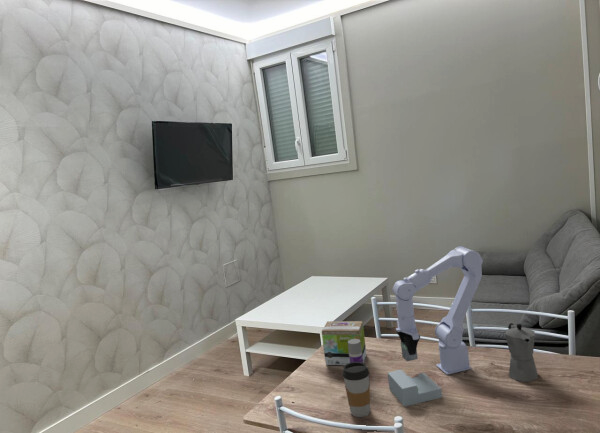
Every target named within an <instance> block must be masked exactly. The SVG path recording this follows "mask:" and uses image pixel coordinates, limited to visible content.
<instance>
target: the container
mask: <svg viewBox="0 0 600 433" xmlns="http://www.w3.org/2000/svg"><path fill="white" fill-rule="evenodd" d="M348 349H349V358H350V363H351V362H362V363H363V356H362V349H361V342H360V340H359V339H351V340H349V341H348Z"/></svg>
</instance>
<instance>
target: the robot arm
mask: <svg viewBox="0 0 600 433" xmlns="http://www.w3.org/2000/svg"><path fill="white" fill-rule="evenodd" d="M483 263H484V260H483V258H482V256H481V255H480V253H479V252H478V251H477V250H472V249H470V248H467V247H466V246H463V245H461V246H456V247H455V248H454V249H452V250H450V251H449V252H448V253H447V254H446V255H445V256H443V257H441V258H440V259H439V260H438V261H436V262H435V263H433V264H431V265H430V266H429V267H427V268H426V269H424V268H419V269H415V270H414V273H412V274H410V275H409V276H407V277H403V280H401V279H400V280H397V281H395V283H394V285H393V286H392V288H391V290H392V293H393V294H394V295H395V304H396V312H397V314H396V315H397V320H396V326H397V327H396V328H395V331H396V334H397V335H398V338H399V339H400V342H401V341H402V340H405V342H406V344H407V348H408V352H409V354H410V355H414V354H416V349H417V347H418V344H419V341H420V339H421V335H420V334H419V333H420V332H418V329H417V325H416V320H415V310H414V302H413V297H414V296H415V294H416V292H418V291H420V290H421V289H423V288H425V287H426V286H428V285H430V283H432V279H433V278H434V277H436V276H438V275H439V274H440V275H441V273H443V272H445V271H447V270H448V269H450V268H452V267H453V268H460V269H461V272H462V274H463V278H462V280H461V283H460V285H459V287H458V290H457V292H456V294H455V297H454V299H453V302H452V304H451V306H450V308H449V310H448V313H447V315H445V316H444V317H442V318H441V321H439V323H438V324H437V325H436V326H435V328H434V335H435V336H436V338H438V350H439V352H438V353H439V361H440V363H437V364H436V365H435V366H436V367H437V368H438V369H440V370H441V371H442V372H444V374H445V375H446V376H447V375H452V374H457V373H460V372H465V371H469V370H471V369H472V368H471V366H470V357H469V349H468V346H467V344H466V343H465V342H464V341H463V333H464V331H465V329H464V326H463V321H464V319H465V316H466V314H467V313H468V310H469V307H470V306H471V303H472V300H473V299H474V297H475V294H476V291H477V290H478V287H479V284H480V282H481V280H482V276H483V273H482V272H483V270H482V268H483V267H482V265H483ZM417 350H418V349H417Z"/></svg>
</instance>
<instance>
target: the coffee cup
mask: <svg viewBox="0 0 600 433" xmlns="http://www.w3.org/2000/svg"><path fill="white" fill-rule="evenodd" d="M369 376H370V370H369V368H368V365H367V364H366V363H365V362H364V363H362V362H351V363H348V364H346V365H343V369H342V377H343V381H344V388H345V392H346V398H347V403H348V406H349V410H350V414H351V415H353V417H356V418H365V417H367V416H368V415H369V414H370V412H371V409H372V407H371V387H370V377H369Z"/></svg>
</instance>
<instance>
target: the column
mask: <svg viewBox="0 0 600 433" xmlns="http://www.w3.org/2000/svg"><path fill="white" fill-rule="evenodd" d="M400 347H401V348H400V349H401V357H402V358H403V359H404V360H405V361H406V362H411V361H414V360H415V361H416V360H418V359H419V358H418V349H416V354H414V355H410V354H409V352H408V348H407V344H406V342H405V340H402V341H401V340H400Z"/></svg>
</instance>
